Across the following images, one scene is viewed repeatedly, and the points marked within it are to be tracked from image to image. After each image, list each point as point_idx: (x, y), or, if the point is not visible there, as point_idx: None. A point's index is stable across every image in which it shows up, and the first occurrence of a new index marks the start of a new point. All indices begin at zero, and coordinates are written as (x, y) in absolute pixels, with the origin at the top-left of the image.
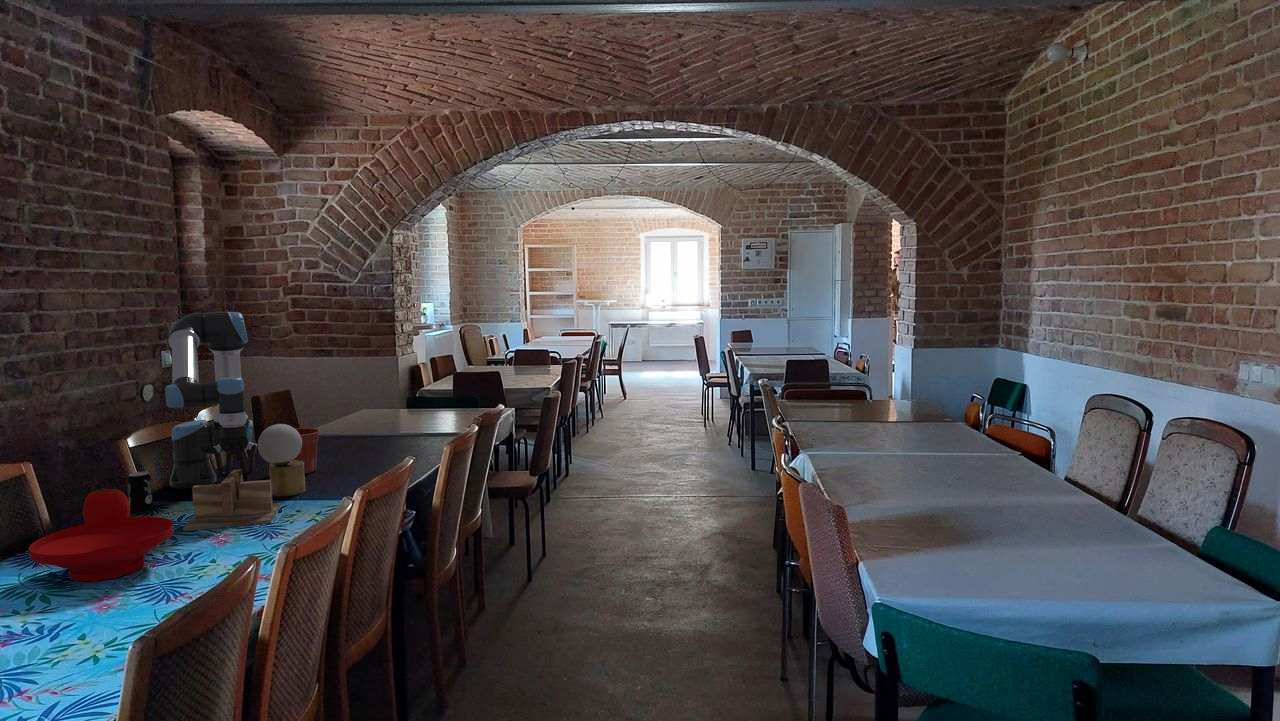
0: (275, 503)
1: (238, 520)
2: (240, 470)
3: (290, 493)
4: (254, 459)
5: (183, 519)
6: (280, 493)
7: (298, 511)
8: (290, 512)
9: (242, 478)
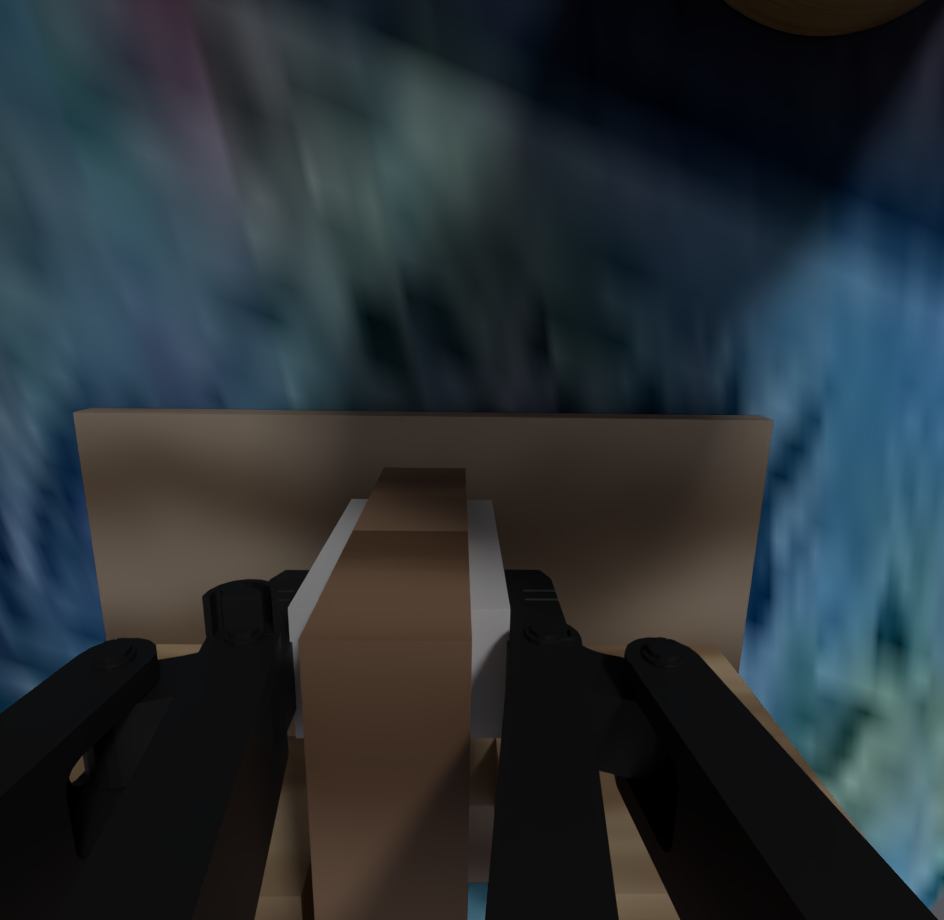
0: (731, 434)
1: (491, 833)
2: (466, 739)
3: (877, 20)
4: (893, 887)
5: (28, 573)
6: (777, 10)
7: (890, 646)
8: (832, 653)
9: (501, 727)
